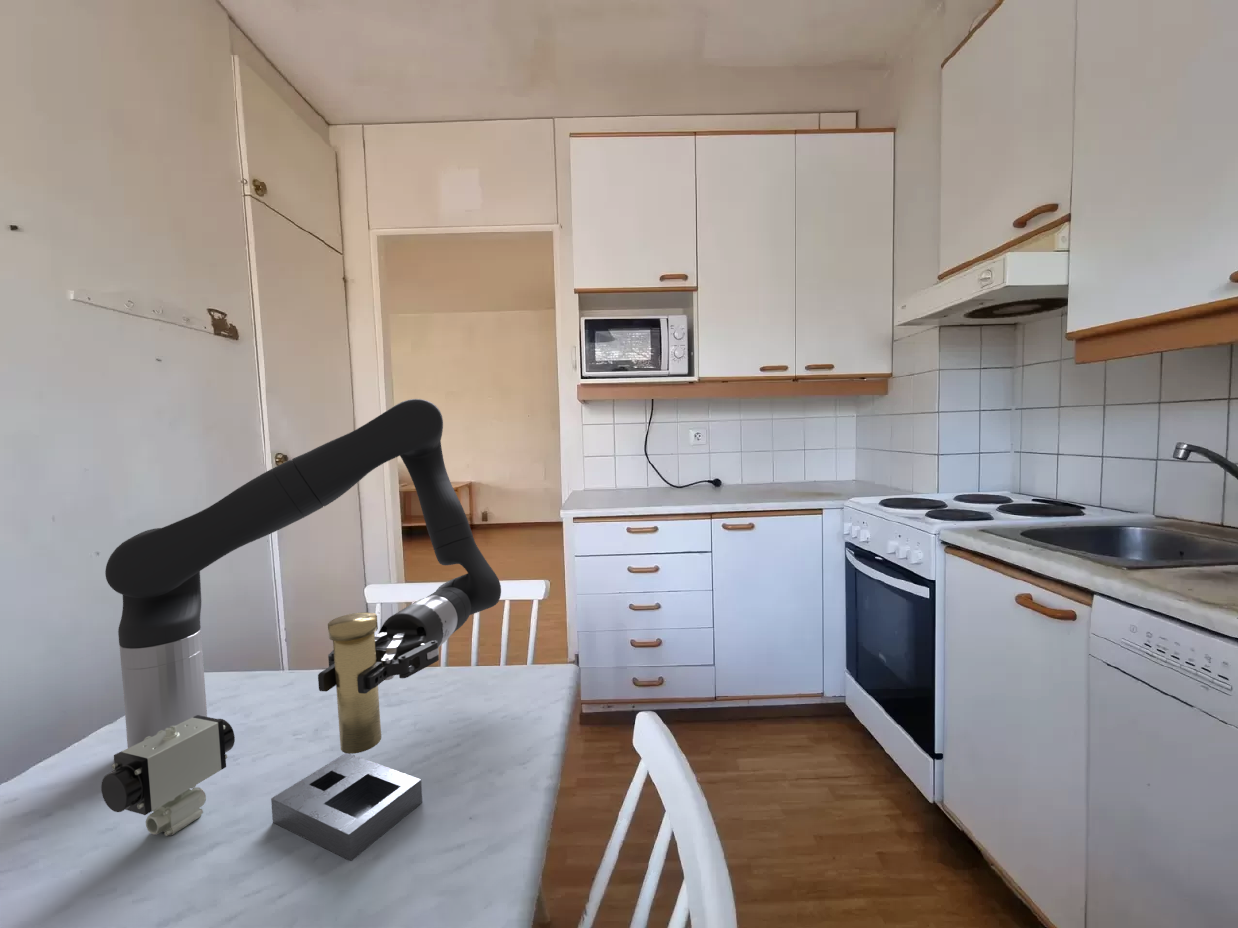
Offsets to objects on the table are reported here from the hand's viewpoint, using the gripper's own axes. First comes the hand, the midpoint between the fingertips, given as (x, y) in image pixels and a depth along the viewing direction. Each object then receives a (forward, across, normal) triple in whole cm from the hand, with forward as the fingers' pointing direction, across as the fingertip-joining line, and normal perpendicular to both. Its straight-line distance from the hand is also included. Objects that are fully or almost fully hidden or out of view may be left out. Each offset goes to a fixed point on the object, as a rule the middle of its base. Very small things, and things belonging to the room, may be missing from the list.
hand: (341, 684), depth 60 cm
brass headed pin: (-3, 0, +8) cm, 9 cm away
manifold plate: (-3, -3, +18) cm, 18 cm away
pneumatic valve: (+1, -23, +18) cm, 29 cm away
